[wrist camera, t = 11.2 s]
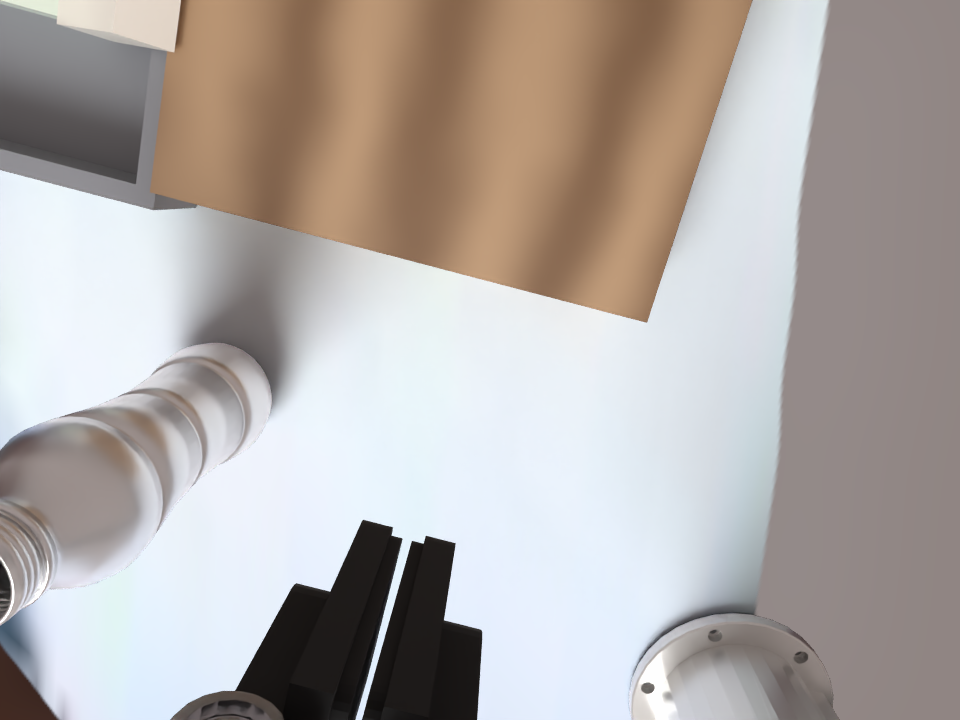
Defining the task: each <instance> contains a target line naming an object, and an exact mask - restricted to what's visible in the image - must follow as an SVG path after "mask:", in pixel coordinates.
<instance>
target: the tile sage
mask: <svg viewBox="0 0 960 720" xmlns="http://www.w3.org/2000/svg"><path fill="white" fill-rule="evenodd" d="M58 1H59V0H0V4H3V5H6V6H10V7H14V8H17V9H21V10H25V11H28V12H32V13H35V14H39V15H43V16H46V17H50V18H53V19H57V13H58Z"/></svg>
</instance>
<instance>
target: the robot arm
mask: <svg viewBox="0 0 960 720" xmlns="http://www.w3.org/2000/svg"><path fill="white" fill-rule="evenodd" d="M392 530H393V527H389V526H385V525H381V524H377V523H373V522H370V521H366V520H363V521H362V523H361V525H360V527H359V529H358V531H357V534H356V536H355V538H354V540H353V543H352V545H351V547H350V549H349V551H348V554H347V556H346V558H345V560H344V563H343V565H342V567H341V569H340V571H339V574H338V576H337V578H336V580H335V583H334V585H333V587H332V589H331V592H329V591H325V590H321V589H317V588H313V587H309V586H305V585H301V584H297V583H296V584H295V585H294V586H293V587H292V589H291V590H290V592H289V594H288V596H287V598H286V600H285V601H284V603H283V605H282V607H281V609H280V610H279V612H278V614H277V616H276V618H275V620H274V621H273V623H272V625H271V627H270V629H269V630H268V632H267V634H266V636H265V638H264V640H263V641H262V643H261V645H260V647H259V649H258V650H257V652H256V654H255V656H254V658H253V659H252V661H251V663H250V665H249V667H248V669H247V670H246V672H245V674H244V676H243V678H242V679H241V681H240V683H239V685H238V687H237V689H236V690H235V691H221V692H217V693H212V694H208V695H204V696H202V697H200V698H198V699H196V700H194V701H192V702H190V703H188V704H187V705H186V706H184V707H183V708H182V709H181V710H180V711H179V712H178V713H176V714H175V715H174V716H173V717H172V718H171V720H355V719H356V715H357V712H358V708H359V705H360V702H361V698H362V695H363V691H364V688H365V684H366V681H367V677H368V674H369V670H370V666H371V662H372V658H373V654H374V650H375V646H376V642H377V638H378V634H379V630H380V626H381V622H382V618H383V614H384V610H385V606H386V603H387V599H388V595H389V591H390V587H391V583H392V579H393V575H394V571H395V567H396V563H397V559H398V555H399V551H400V547H401V543H402V538H398V537H394V536H391V535H392ZM454 551H455V543H452V542H448V541H444V540H440V539H436V538H433V537H429V536H426V537H425V541H424V544H422V543H418V542H414V541H412V543H411V546H410V550H409V553H408V557H407V561H406V564H405V568H404V571H403V575H402V578H401V582H400V585H399V589H398V593H397V596H396V600H395V603H394V607H393V610H392V614H391V617H390V621H389V625H388V628H387V632H386V635H385V639H384V642H383V646H382V649H381V653H380V657H379V660H378V664H377V667H376V671H375V674H374V678H373V681H372V685H371V689H370V692H369V696H368V700H367V703H366V707H365V711H364V715H363V719H362V720H477V712H478V696H479V680H480V664H481V648H482V631H481V630H480V629H476V628H472V627H468V626H464V625H460V624H456V623H452V622H448V621H444V615H445V609H446V602H447V596H448V589H449V583H450V577H451V570H452V564H453V557H454ZM629 710H630V714H631V719H632V720H839V718H838V717H837V715H836V713H835V711H834V710H833V692H832V687H831V681H830V678H829V676H828V674H827V672H826V670H825V667H824V665H823V663H822V662H821V660H820V659H819V658H818V656H817V654H816V653H815V652H814V650H813V649H812V648H811V647H810V646H809V645H808V643H807V642H806V641H805V640H804V639H803V638H802V637H801V636H799V635H798V634H796V633H795V632H794V631H792V630H791V629H790V628H788V627H786V626H784V625H782V624H780V623H777V622H775V621H773V620H771V619H767V618H763V617H759V616H756V615H750V614H738V613H728V614H716V615H710V616H706V617H702V618H698V619H694V620H692V621H690V622H688V623H685V624H683V625H681V626H678V627H676V628H675V629H673V630H672V631H670V632H669V633H667V634H666V635H664V636H663V637H661V638H660V639H659V640H658V641H657V642H656V643H655V644H654V645H653V646H652V647H651V648H650V649H649V650H648V651H647V652H646V654H645V655H644V657H643V658H642V659H641V661H640V662H639V664H638V666H637V668H636V670H635V673H634V675H633V677H632V681H631V686H630V691H629Z"/></svg>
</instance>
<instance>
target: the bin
mask: <svg viewBox="0 0 960 720" xmlns="http://www.w3.org/2000/svg"><path fill="white" fill-rule="evenodd" d="M166 57H167V51H163V50H157V49H151V48H146V47H140V46H134V45H129V44H123V43H118V42H113V41H110V40H106V39H103V38H100V37H97V36H93V35H90V34H87V33H84V32H81V31H77V30H74V29H71V28H68V27H65V26H61V25H58V24H57V19H53V18H50V17H46V16H43V15H39V14H35V13H32V12H28V11H25V10H21V9H17V8H14V7H10V6H6V5H3V4H0V170H2V171H6V172H10V173H14V174H18V175H21V176H25V177H29V178H33V179H37V180H41V181H44V182H48V183H52V184H56V185H60V186H63V187H67V188H71V189H75V190H79V191H83V192H86V193H90V194H94V195H98V196H102V197H106V198H109V199H113V200H117V201H121V202H125V203H128V204H132V205H136V206H140V207H144V208H148V209H151V210H163V209H182V208H196V204H192V203H189V202H185V201H181V200H177V199H173V198H170V197H166V196H162V195H158V194H154V193H150V187H151V178H152V170H153V162H154V154H155V146H156V138H157V130H158V122H159V114H160V106H161V98H162V90H163V81H164V73H165V65H166Z"/></svg>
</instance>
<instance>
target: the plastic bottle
mask: <svg viewBox="0 0 960 720" xmlns="http://www.w3.org/2000/svg"><path fill="white" fill-rule="evenodd" d="M271 406H272V393H271V388H270V384H269V381H268V379H267V376H266V374H265V372H264V371H263V369H262V368H261V366H260V365H259V364H258V363H257V362H256V361H255V359H254V358H253V357H251V356H250V355H249V354H247V353H246V352H245V351H243V350H241V349H239V348H237V347H235V346H232V345H228V344H225V343H206V344H199V345H193V346H189V347H186V348H184V349H181V350H179V351H178V352H176V353H175V354H173V355H172V356H170V357H169V358H168V359H167V360H166V361H164V362H163V363H162V364H161V365H160V366H159V367H158V368H157V369H156V370H155V371H154V372H153V373H152V374H151V376H150V377H148V378H147V379H146V380H144V381H143V382H142V383H140V384H139V385H137V386H136V387H135V388H133V389H132V390H131V391H129V392H127V393H125V394H123V395H120V396H118V397H117V398H114V399H111V400H109V401H107V402H105V403H102V404H100V405H98V406H95V407H92V408H89V409H85V410H82V411H78V412H75V413H72V414H68V415H65V416H61V417H59V418H54V419H51V420H49V421H46V422H43V423H40V424H38V425H36V426H33V427H31V428H28V429H26V430H23V431H22V432H20V433H19V434H17V435H16V436H14V437H13V438H11V439H10V440H9V441H8V443H7V444H6V445H5V446H4V447H3V448H2V449H1V450H0V625H2V624H3V623H5V622H6V621H7V620H9V619H10V618H11V617H12V616H13V615H15V614H16V613H17V612H18V611H19V610H20V609H23V608H25V607H27V606H29V605H30V604H32V603H34V602H35V601H36V600H37V599H39V598H40V597H41V596H42V595H43V594H44V593H45V592H46V591H47V590H48V589H70V588H79V587H86V586H89V585H92V584H95V583H98V582H100V581H102V580H104V579H107V578H109V577H111V576H113V575H115V574H117V573H118V572H120V571H122V570H124V569H125V568H127V567H128V566H129V565H130V564H131V563H132V562H133V561H134V560H136V559H137V558H138V556H139V555H140V554H141V553H142V551H143V550H144V549H145V548H146V547H147V546H148V544H149V543H150V541H151V540H152V538H153V537H154V535H155V534H156V532H157V531H158V529H159V528H160V527H161V525H162V524H163V522H164V521H165V519H166V518H167V516H168V515H169V513H170V512H171V511H172V509H173V508H174V506H175V505H176V504H177V503H178V502H179V501H180V500H181V498H182V497H183V496H184V495H185V494H186V493H187V492H188V491H189V489H190V488H191V487H192V486H193V485H194V484H195V483H196V482H197V481H198V480H199V479H200V478H202V477H203V476H204V475H206V474H207V473H208V472H210V471H211V470H213V469H214V468H215V467H217V466H218V465H220V464H222V463H225V462H227V461H229V460H231V459H232V458H234V457H236V456H237V455H239V454H240V453H242V452H244V451H245V450H247V449H248V448H249V447H250V446H251V445H252V444H253V443H255V441H256V440H257V439H258V437H259V436H260V434H261V433H262V431H263V429H264V427H265V425H266V423H267V420H268V418H269V415H270V412H271Z"/></svg>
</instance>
